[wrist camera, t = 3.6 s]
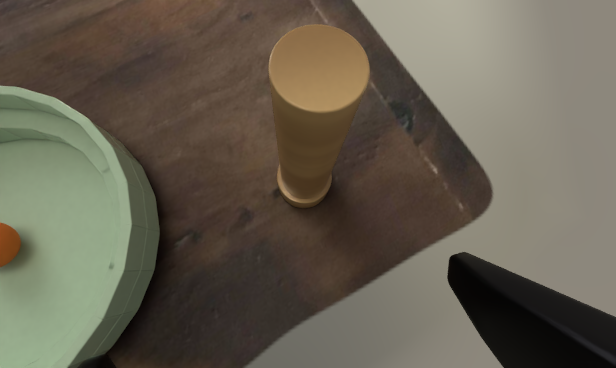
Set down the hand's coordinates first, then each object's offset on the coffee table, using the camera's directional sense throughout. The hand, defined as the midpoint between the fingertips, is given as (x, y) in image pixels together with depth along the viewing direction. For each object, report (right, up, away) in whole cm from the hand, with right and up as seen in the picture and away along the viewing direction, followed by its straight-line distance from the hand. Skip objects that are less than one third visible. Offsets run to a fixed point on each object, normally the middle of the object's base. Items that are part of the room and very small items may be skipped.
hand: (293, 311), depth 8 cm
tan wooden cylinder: (0, +3, +15) cm, 16 cm away
